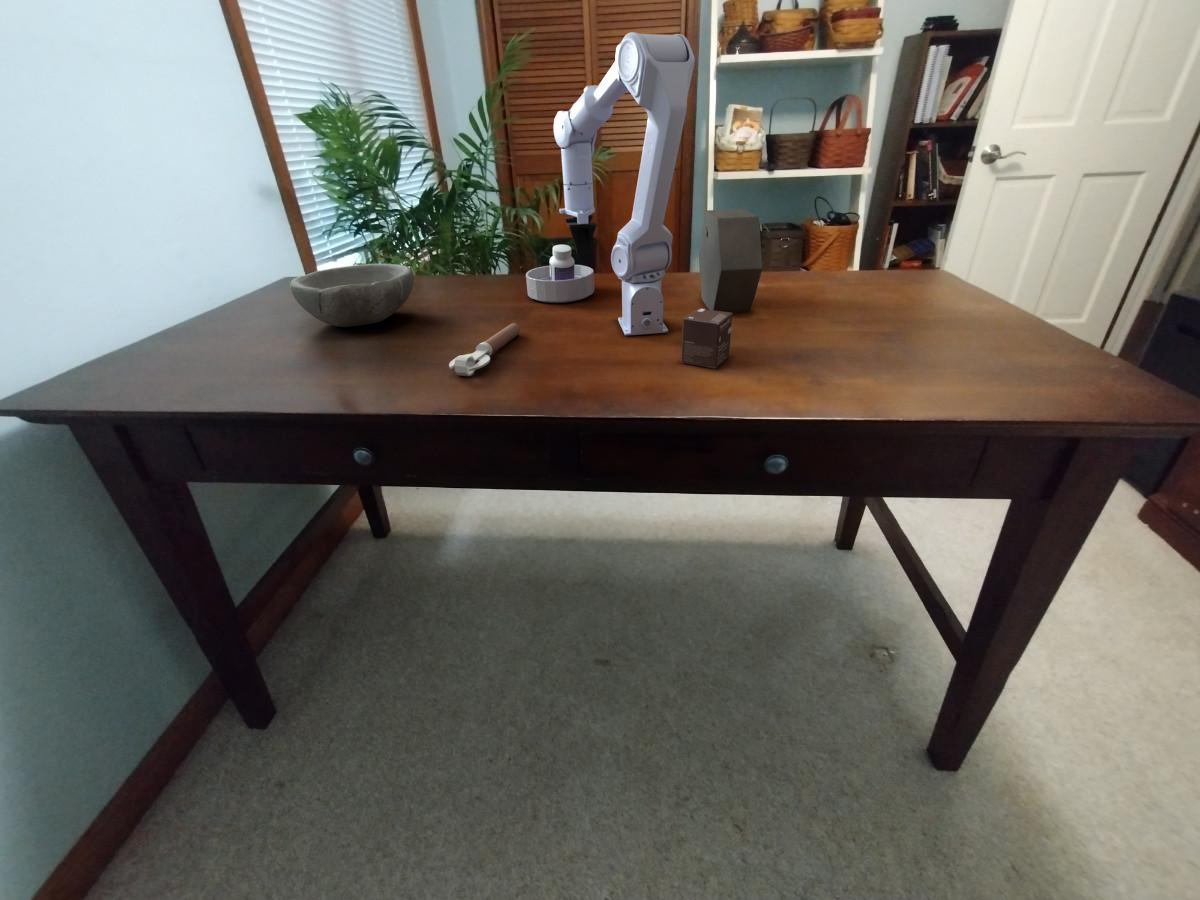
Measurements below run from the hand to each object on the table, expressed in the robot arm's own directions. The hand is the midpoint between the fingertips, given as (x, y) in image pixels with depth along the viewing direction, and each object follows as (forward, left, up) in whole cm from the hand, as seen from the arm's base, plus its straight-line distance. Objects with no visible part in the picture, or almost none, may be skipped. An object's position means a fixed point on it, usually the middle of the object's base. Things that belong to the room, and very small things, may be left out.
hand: (582, 256), depth 113 cm
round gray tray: (+7, +5, -10) cm, 13 cm away
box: (-37, -16, -10) cm, 42 cm away
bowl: (-3, +46, -10) cm, 47 cm away
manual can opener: (-28, +19, -10) cm, 35 cm away
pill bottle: (+6, +5, -9) cm, 11 cm away
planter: (-9, -28, -10) cm, 31 cm away
